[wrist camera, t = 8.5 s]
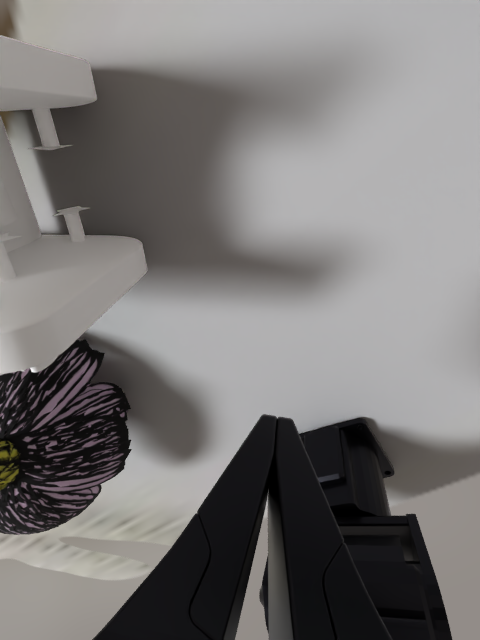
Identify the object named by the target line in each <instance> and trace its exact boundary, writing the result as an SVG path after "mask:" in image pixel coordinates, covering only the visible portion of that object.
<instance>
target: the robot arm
mask: <svg viewBox="0 0 480 640" xmlns="http://www.w3.org/2000/svg"><path fill="white" fill-rule="evenodd" d="M358 425H361V426H358ZM393 475H394V469H393V466H392V465H391V463H390V461H389V459H388V458H387V456H386V454H385V453H384V451H383V449H382V448H381V446H380V444H379V442H378V441H377V439H376V437H375V436H374V434H373V432H372V431H371V429H370V427H369V426H368V424H367V422H366V421H365V420H364V419H355V420H351V421H347V422H344V423H340V424H336V425H333V426H329V427H325V428H322V429H318V430H314V431H311V432H307V433H303V434H300V435H299V433H298V431H297V428H296V426H295V424H294V422H293V420H292V419H290V418H284V417H278V418H277V417H276V416H272V415H266V414H264V415H262V416H261V417H260V419H259V420H258V422H257V423H256V425H255V426H254V428H253V429H252V431H251V432H250V434H249V435H248V437H247V438H246V440H245V441H244V442H243V444H242V445H241V447H240V448H239V450H238V451H237V453H236V454H235V456H234V457H233V459H232V460H231V462H230V463H229V465H228V466H227V468H226V469H225V471H224V472H223V474H222V475H221V477H220V478H219V480H218V481H217V483H216V484H215V486H214V487H213V489H212V490H211V491H210V493H209V494H208V496H207V497H206V499H205V500H204V502H203V503H202V505H201V506H200V508H199V509H198V511H197V513H196V514H195V515H194V516H193V518H192V519H191V521H190V522H189V524H188V525H187V527H186V528H185V530H184V531H183V532H182V534H181V535H180V537H179V538H178V539H177V541H176V542H175V543H174V545H173V546H172V548H171V549H170V550H169V551H168V553H167V554H166V555H165V556H164V558H163V559H162V560H161V561H160V562H159V564H158V565H157V566H156V567H155V569H154V570H153V571H152V572H151V573H150V574H149V576H148V577H147V578H146V579H145V580H144V581H143V583H142V584H141V585H140V586H139V587H138V589H137V590H136V591H135V592H134V593H133V594H132V596H131V597H130V598H129V599H128V600H127V602H126V603H125V604H124V605H123V606H122V607H121V608H120V610H119V611H118V612H117V613H116V614H115V615H114V617H113V618H112V619H111V620H110V621H109V622H108V623H107V625H106V626H105V627H104V628H103V629H102V630H101V631H100V632H99V633H98V634H97V636H96V637H95V638H94V639H92V640H235V636H236V632H237V628H238V623H239V619H240V615H241V610H242V606H243V602H244V597H245V593H246V588H247V584H248V580H249V576H250V571H251V567H252V562H253V558H254V554H255V550H256V545H257V541H258V536H259V532H260V528H261V524H262V519H263V515H264V511H265V506H266V501H267V496H268V557H267V562H266V567H265V571H264V576H263V581H262V586H261V589H260V602H261V604H262V605H263V607H264V609H265V619H266V626H267V630H268V634H269V640H452V636H451V632H450V628H449V624H448V619H447V615H446V611H445V607H444V604H443V600H442V596H441V593H440V589H439V586H438V582H437V579H436V576H435V573H434V570H433V567H432V564H431V561H430V557H429V554H428V551H427V548H426V545H425V542H424V539H423V536H422V533H421V530H420V527H419V524H418V521H417V517H416V514H406V516H391V513H390V509H389V504H388V499H387V495H386V490H385V486H384V481H383V478H385V477H390V476H393ZM268 489H269V491H268Z"/></svg>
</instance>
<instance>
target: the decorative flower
mask: <svg viewBox="0 0 480 640" xmlns="http://www.w3.org/2000/svg"><path fill="white" fill-rule="evenodd" d="M104 354H105V353H101V352H98V351H97V350H93V349H91V348H90V346H89V344H88V343H87V341H86V339H85V340H83V341H79V340H76V341H75V342H74V343H73V344H72V345H71V346H70V347H69V348H68V349H66V350H65V351H64V352H63V353H62V354H60V355H58V357H57V358H56V359H55V361H54V362H53V363H52V364H50V365H49V366H48V367H47V368H45V369H43V370H42V371H39V372H35V373H34V372H31V369H30V368H29V369H26V370H25V371H17V372H12V373H6V374H3V375H1V376H0V533H4V534H14V535H18V534H33V533H39V532H44V531H48V530H50V529H52V528H55V527H58V526H59V525H61V524H63V523H66V522H67V521H69V520H70V519H71V518H73V517H75V516H78V515H79V514H80V513H81V512H82V511H83V510H85V509H86V508H87V507H88V506H89V505H90V504H91V503H92V502H93V500H94V499H95V498H96V497H97V496H98V495H99V493H100V492H101V485H100V484H102V483H104V482H106V481H108V480H110V479H111V478H113V477H115V476H116V475H117V474H118V473H120V472H121V471H122V470H123V469H124V465H125V460H126V458H127V456H128V455H129V453H130V451H131V450H132V449H129V445H130V442H131V440H129V439H128V429H127V426H126V423H125V421H126V420H128V419H127V412H128V409H131V408H130V405H129V403H128V400H127V398H126V396H125V393H123V391H122V389H121V388H119V386H117V385H115V384H112V383H107V382H100V383H95V384H89V383H90V381H91V380H92V378H93V377H94V376H95V375H96V373H97V371H98V370H99V367H100V366H101V363H102V360H103V357H104Z"/></svg>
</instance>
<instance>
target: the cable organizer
mask: <svg viewBox="0 0 480 640" xmlns="http://www.w3.org/2000/svg"><path fill="white" fill-rule="evenodd" d="M96 100H97V95H96V90H95V86H94V81H93V76H92V72H91V67H90V63H89V62H88V61H86V60H84V59H81V58H78V57H75V56H72V55H68V54H64V53H61V52H57V51H54V50H50V49H47V48H43V47H40V46H36V45H33V44H29V43H26V42H22V41H19V40H15V39H12V38H8V37H5V36H1V35H0V111H15V110H32V112H33V115H34V119H35V122H36V125H37V128H38V132H39V135H40V138H41V142H42V145H43V146H42V147H34V148H28V149H40V150H55V149H59V148H63V147H67V146H72V145H60V144H59V140H58V137H57V133H56V130H55V126H54V123H53V119H52V115H51V112H50V108H65V107H74V106H80V105H85V104H89V103H92V102H94V101H96ZM85 209H89V208H81V207H80V206H76V207H71V208H66V209H62V210H57V212H60V213H58V214H56V215H54V216H57V215H62V214H64V218H65V221H66V224H67V228H68V231H69V234H70V235H41V231H40V228H39V225H38V222H37V219H36V216H35V213H34V211H33V208H32V205H31V202H30V199H29V196H28V193H27V190H26V187H25V185H24V182H23V179H22V176H21V173H20V170H19V167H18V164H17V161H16V159H15V156H14V153H13V150H12V147H11V144H10V141H9V138H8V135H7V133H6V130H5V127H4V124H3V121H2V118H1V116H0V376H1V375H3V374H6V373H12V372H17V371H25V370H26V369H29V368H30V369H31V372H34V373H35V372H39V371H42V370H43V369H45V368H47V367H48V366H49V365H50V364H52V363H53V362H54V361H55V359H56V358H57V357H58V355H60V354H62V353H63V352H64V351H65V350H66V349H68V348H69V347H70V346H71V345H72V344H73V343H74V342H75V341H76V340H77V339H78V338H79V337H80V336H81V335H82V334H83V333H84V332H85V331H86V330H87V329H88V328H89V327H91V326H92V325H93V324H94V323H95V322H96V321H97V320H98V319H99V318H100V317H101V316H102V315H103V314H104V313H105V312H106V311H107V310H108V309H109V308H110V307H111V306H113V305H114V304H115V303H116V302H117V301H118V300H119V299H120V298H121V297H122V296H123V295H124V294H125V293H126V292H127V291H128V290H129V289H130V288H131V287H132V286H133V285H134V284H136V283H137V282H138V281H139V280H140V279H141V278H142V277H143V276H144V275H145V274H146V273H147V270H148V269H147V264H146V259H145V254H144V249H143V244H142V242H141V241H139V240H137V239H135V238H131V237H126V236H112V235H85V234H84V230H83V226H82V223H81V219H80V216H79V211H81V210H85ZM51 217H52V216H51Z"/></svg>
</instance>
